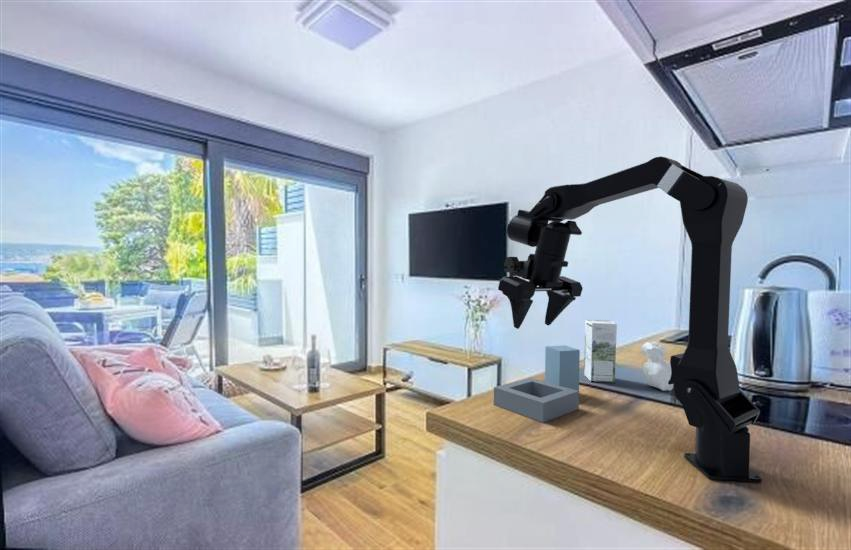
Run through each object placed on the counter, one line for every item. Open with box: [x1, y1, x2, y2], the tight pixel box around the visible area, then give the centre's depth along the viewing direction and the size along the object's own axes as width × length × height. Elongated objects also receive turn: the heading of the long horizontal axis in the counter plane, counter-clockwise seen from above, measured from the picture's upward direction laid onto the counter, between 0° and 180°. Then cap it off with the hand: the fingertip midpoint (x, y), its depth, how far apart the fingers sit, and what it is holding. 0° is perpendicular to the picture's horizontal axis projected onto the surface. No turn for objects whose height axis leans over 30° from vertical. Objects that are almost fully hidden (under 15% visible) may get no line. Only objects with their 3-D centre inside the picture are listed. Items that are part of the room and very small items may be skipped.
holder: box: [493, 377, 580, 424], centre depth 79 cm, size 12×12×4 cm
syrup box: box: [583, 319, 618, 383], centre depth 99 cm, size 6×6×14 cm
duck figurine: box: [640, 341, 673, 392], centre depth 94 cm, size 12×8×11 cm
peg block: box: [544, 345, 581, 392], centre depth 87 cm, size 5×5×10 cm
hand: (532, 326), depth 83 cm, fingers open, 9 cm apart
